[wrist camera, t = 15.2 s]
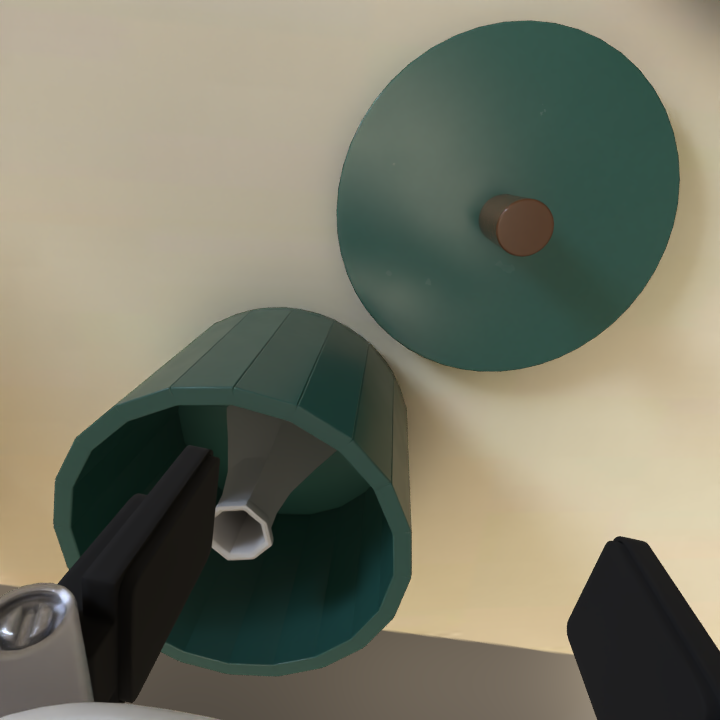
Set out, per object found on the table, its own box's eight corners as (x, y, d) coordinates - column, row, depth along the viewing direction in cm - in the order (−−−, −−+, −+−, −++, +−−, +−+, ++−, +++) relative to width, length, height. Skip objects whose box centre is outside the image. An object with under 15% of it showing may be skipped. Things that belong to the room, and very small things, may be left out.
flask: (359, 451, 31) (342, 569, 22) (263, 486, 33) (211, 610, 23) (308, 356, 29) (266, 443, 20) (209, 398, 30) (126, 497, 21)
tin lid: (290, 113, 24) (258, 94, 19) (638, -40, 21) (724, -116, 16) (397, 398, 30) (397, 449, 24) (687, 311, 27) (763, 348, 21)
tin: (128, 352, 30) (-20, 450, 19) (356, 270, 27) (330, 333, 17) (233, 539, 35) (162, 698, 24) (436, 487, 32) (456, 642, 21)
